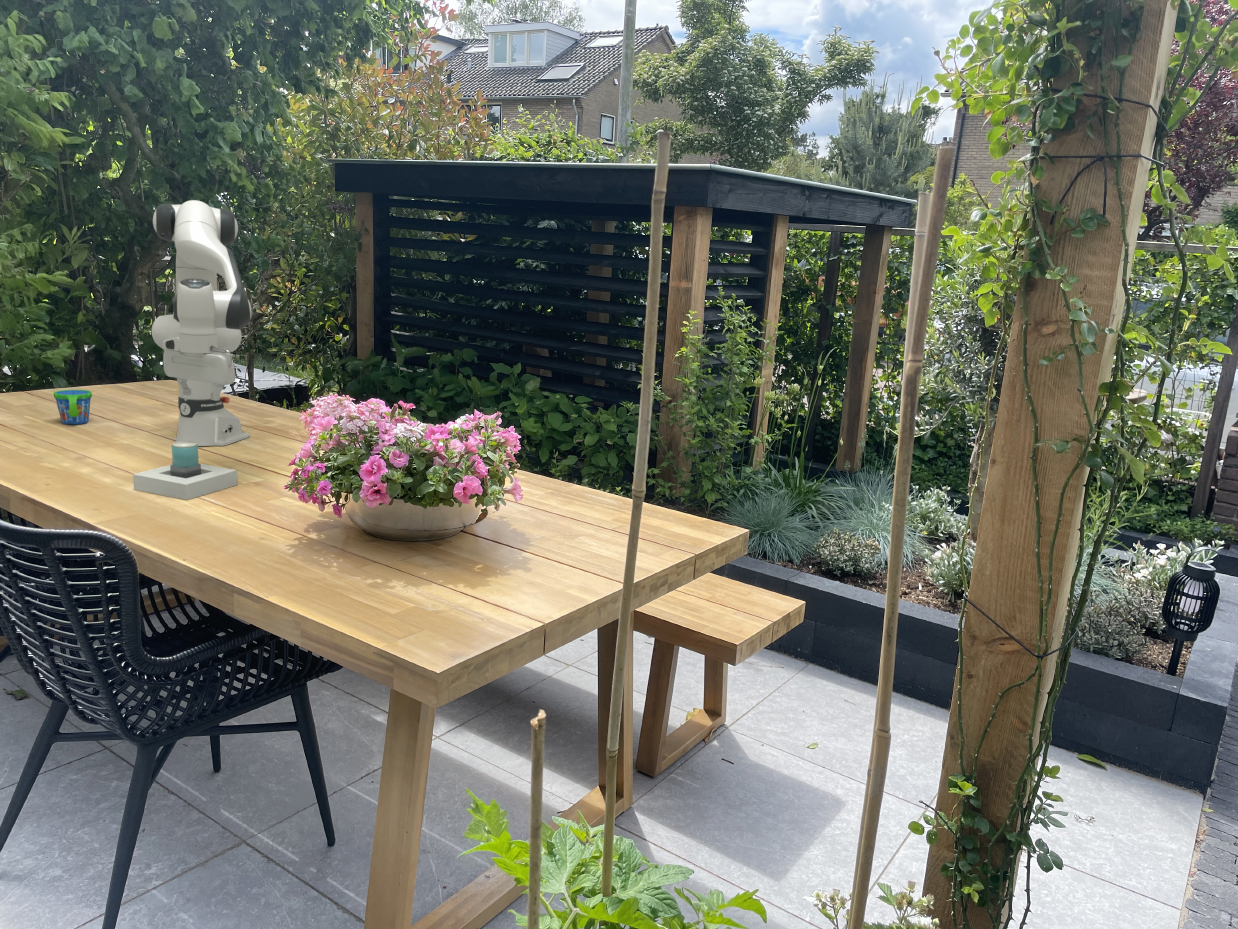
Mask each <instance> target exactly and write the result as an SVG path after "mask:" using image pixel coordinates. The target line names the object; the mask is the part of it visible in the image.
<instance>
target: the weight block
mask: <svg viewBox="0 0 1238 929" xmlns="http://www.w3.org/2000/svg"><path fill="white" fill-rule="evenodd" d="M201 464H202V463H200V464H199V465H197V466H194V467H185V468H181V467H174V466H173V465H172V464H169V465H170V471H171V476H175V477H180V478H190V477H194V476H197V475H201Z"/></svg>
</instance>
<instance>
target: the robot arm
mask: <svg viewBox="0 0 1238 929" xmlns="http://www.w3.org/2000/svg"><path fill="white" fill-rule="evenodd" d="M152 225H153V229H154V231H155V233H156V236H158V238H160V239H161V240H163V241H167V242H171V243H172V242H174V247H175V250H176V255H175V290H176V295H174V297H172V312H173V313H172V314H165V315H158V317H156V319H155V320H154V321H153V323H152V326H151V337H152V339H153V341H154V343H155V344H156V345H157V346H158V347H160V348H161V349H162V350H163V354H162V355H163V356H162V357H163V359H162V362H163V371H164V374H165V375H166V376H167V377H170V378H176V382H177V384H178V388H179V389H178V390H179V396H178V397H177V398H178V399H177V404H178V406H177V408H178V410H179V413H178V424H177V434H175V435H176V436H175V438H176V439H175V442H179V441H193V442H196V444H197V445H198V447H210V446H211V447H212V446H216V447H217V446H218V447H220V446H222V447H223V446H228V445H230V444H233V443H236V442H239V441H242V440H245V439H248V438H250V437H251V435H250V433H249V432H247V431H243V430H242V422H241V420H240V418H239V417H238V416H236V415H235V414H233V413H232V412H231V411H229V410H228V409H226V408H225V405H224V404H230V402H231V400H230V399H231V398H230V397H229V396H221V393H222V391H223V389H224V386H228V385H232V384H234V382H235V381H236V370H235V365H234V361H233V355H232V353H233V352H234V351H236V350H237V349H238V348H239V346H240V345H241V343H242V342H241V341H242V331H241V329H244V328H245V327H246V326H247V325H249V323H251V319H252V305H251V302H250V300H249V297H248V296H247V293H246V290H245V288H244V287H245V286H244V283H243V281H242V280H243V279H242V278H241V277H242V276H241V274H240V271H239V268H238V263H237V261H236V258H235V256H234V253H233V251H232V250H231V249H230V248H229V247H228V246H230V245H231V244H233V243H234V242H235V240H236V238H237V236H238V232H239V226H238V221H237V219H236V215H235V214H234V213H233V212H232V211H231V210H228V209H225V208H216V207H213V206H210V205H208V204H207V203H205V202H204V201H200V200H198V199H197V200H195V199H193V200H192V199H191V200H187V201H185V202H183V203H182V204H172V203H162V204H160V205H158V206H157V207H156V208H155V210H154V213H153V217H152ZM217 275H220V276H221V277H222V279H223V280H224V282H225V287H226V290H218V282H217V281H218V280H217V279H218V277H217ZM231 352H232V353H231Z"/></svg>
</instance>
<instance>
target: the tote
mask: <svg viewBox="0 0 1238 929" xmlns="http://www.w3.org/2000/svg"><path fill="white" fill-rule="evenodd" d="M199 464H201V475H197V476H194V477H190V478H180V477H175V476H171V471H170V465H173V463H172V464H168V465H164V466H161V467H156V468H152V469H149V470H144V471H140V472H136V473H132V481H133V482H132V483H133V484H132V485H133V490H135V491H140V492H144V493H148V494H154V495H160V496H164V497H170V498H173V499H180V500H184V501H189V500H193V499H196V498H199V497H201V496H204V495H205V496H206V495H208V494H212V493H215V492H218V491H222V490H225V489H228V488H231V487H235V486H237V485H238V471H237V470H236V469H232V468H226V467H221V466H215V465H210V464H205V463H200V462H199Z"/></svg>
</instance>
